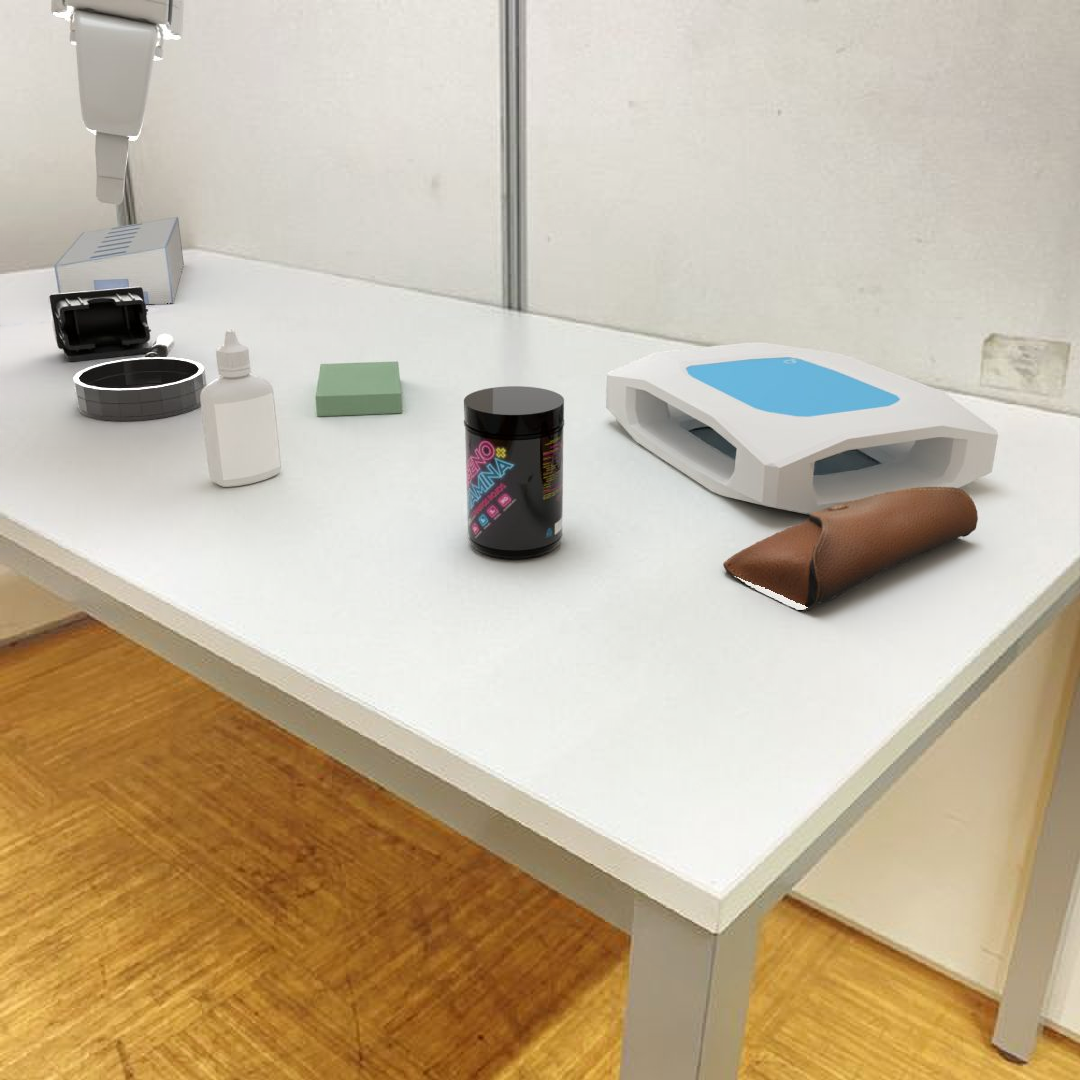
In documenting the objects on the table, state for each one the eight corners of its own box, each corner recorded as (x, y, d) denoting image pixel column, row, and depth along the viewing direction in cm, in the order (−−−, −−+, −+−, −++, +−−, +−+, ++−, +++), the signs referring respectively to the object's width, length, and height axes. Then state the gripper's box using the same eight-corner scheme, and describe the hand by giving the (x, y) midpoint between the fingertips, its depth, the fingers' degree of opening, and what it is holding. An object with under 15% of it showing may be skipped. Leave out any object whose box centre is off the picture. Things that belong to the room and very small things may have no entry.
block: (317, 416, 107) (315, 396, 106) (321, 382, 117) (320, 363, 117) (402, 413, 108) (401, 393, 107) (399, 379, 118) (398, 361, 118)
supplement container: (474, 522, 83) (471, 384, 79) (566, 526, 82) (568, 387, 78) (460, 560, 77) (455, 413, 72) (559, 565, 76) (560, 416, 72)
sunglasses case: (873, 501, 85) (924, 440, 80) (938, 570, 82) (994, 511, 78) (713, 566, 75) (760, 500, 70) (781, 648, 72) (834, 585, 67)
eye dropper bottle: (281, 484, 90) (267, 335, 85) (208, 489, 89) (190, 339, 84) (281, 466, 94) (267, 323, 89) (211, 471, 93) (194, 326, 88)
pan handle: (143, 371, 116) (141, 354, 115) (159, 348, 124) (157, 332, 124) (161, 371, 116) (159, 354, 115) (176, 348, 125) (174, 332, 124)
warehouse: (88, 269, 177) (80, 219, 174) (184, 265, 180) (178, 216, 177) (61, 308, 150) (51, 250, 147) (173, 303, 154) (166, 246, 150)
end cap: (146, 339, 135) (137, 282, 132) (156, 352, 129) (148, 293, 126) (56, 348, 130) (46, 290, 128) (63, 362, 125) (52, 301, 122)
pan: (65, 423, 104) (59, 392, 103) (93, 388, 115) (89, 359, 114) (198, 418, 106) (194, 387, 105) (214, 383, 117) (211, 355, 116)
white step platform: (766, 529, 82) (773, 447, 79) (601, 421, 105) (603, 355, 103) (995, 490, 89) (1008, 413, 86) (792, 397, 113) (798, 335, 110)
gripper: (76, 9, 89) (71, 190, 93) (64, -30, 71) (57, 199, 74) (161, 25, 91) (152, 202, 95) (170, -8, 73) (158, 213, 77)
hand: (110, 201), depth 84 cm, fingers open, 8 cm apart
